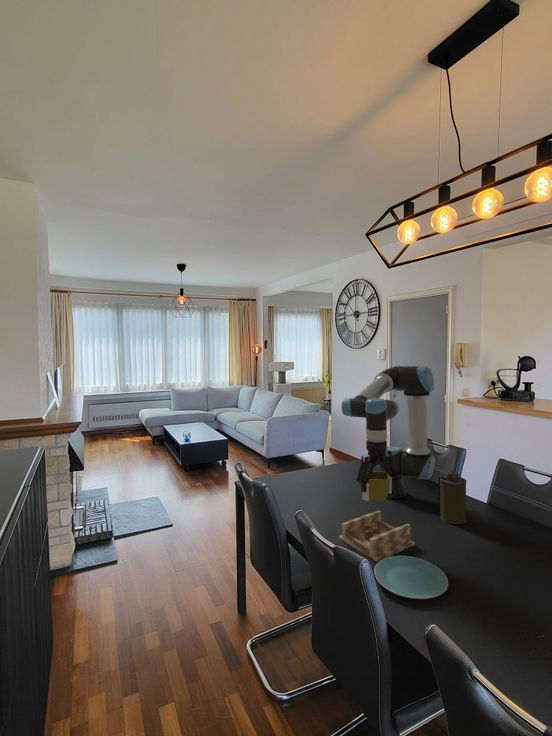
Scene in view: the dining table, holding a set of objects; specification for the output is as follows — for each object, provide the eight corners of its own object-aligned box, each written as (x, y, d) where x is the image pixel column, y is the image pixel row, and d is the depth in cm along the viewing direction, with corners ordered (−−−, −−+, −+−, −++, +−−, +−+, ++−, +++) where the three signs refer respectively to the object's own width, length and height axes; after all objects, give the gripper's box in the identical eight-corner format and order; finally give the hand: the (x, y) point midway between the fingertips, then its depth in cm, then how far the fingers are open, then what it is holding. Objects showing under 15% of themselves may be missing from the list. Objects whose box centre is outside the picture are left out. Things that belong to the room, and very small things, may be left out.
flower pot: (390, 503, 143) (390, 479, 142) (366, 502, 144) (365, 478, 144) (388, 494, 151) (387, 471, 151) (365, 493, 153) (364, 470, 152)
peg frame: (375, 524, 163) (374, 508, 162) (414, 545, 146) (414, 527, 146) (338, 538, 152) (338, 521, 152) (377, 562, 135) (376, 542, 135)
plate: (441, 616, 108) (441, 606, 108) (364, 591, 120) (364, 582, 120) (453, 575, 127) (453, 567, 127) (385, 557, 139) (385, 549, 139)
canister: (469, 518, 167) (469, 472, 165) (461, 526, 159) (461, 479, 158) (443, 511, 174) (443, 467, 173) (435, 519, 166) (434, 473, 165)
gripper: (390, 433, 156) (390, 486, 157) (346, 443, 143) (347, 500, 145) (405, 436, 150) (406, 491, 151) (360, 447, 137) (361, 507, 138)
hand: (377, 496), depth 148 cm, fingers closed on flower pot, 12 cm apart
